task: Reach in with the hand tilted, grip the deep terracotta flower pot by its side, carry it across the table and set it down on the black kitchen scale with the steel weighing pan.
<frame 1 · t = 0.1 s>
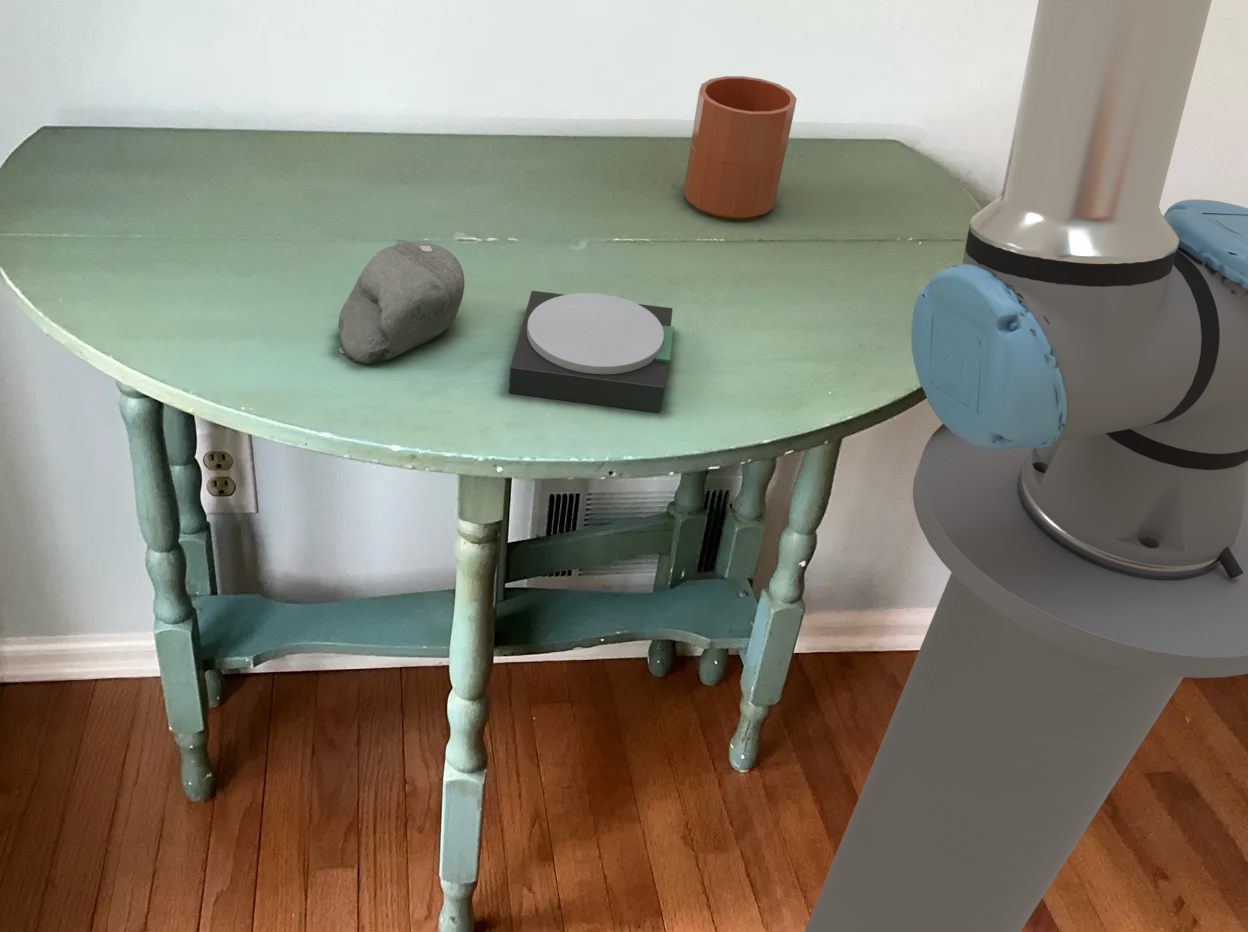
terracotta flower pot: (728, 201, 121), on the table
scale: (592, 361, 97), on the table
stone: (399, 333, 99), on the table
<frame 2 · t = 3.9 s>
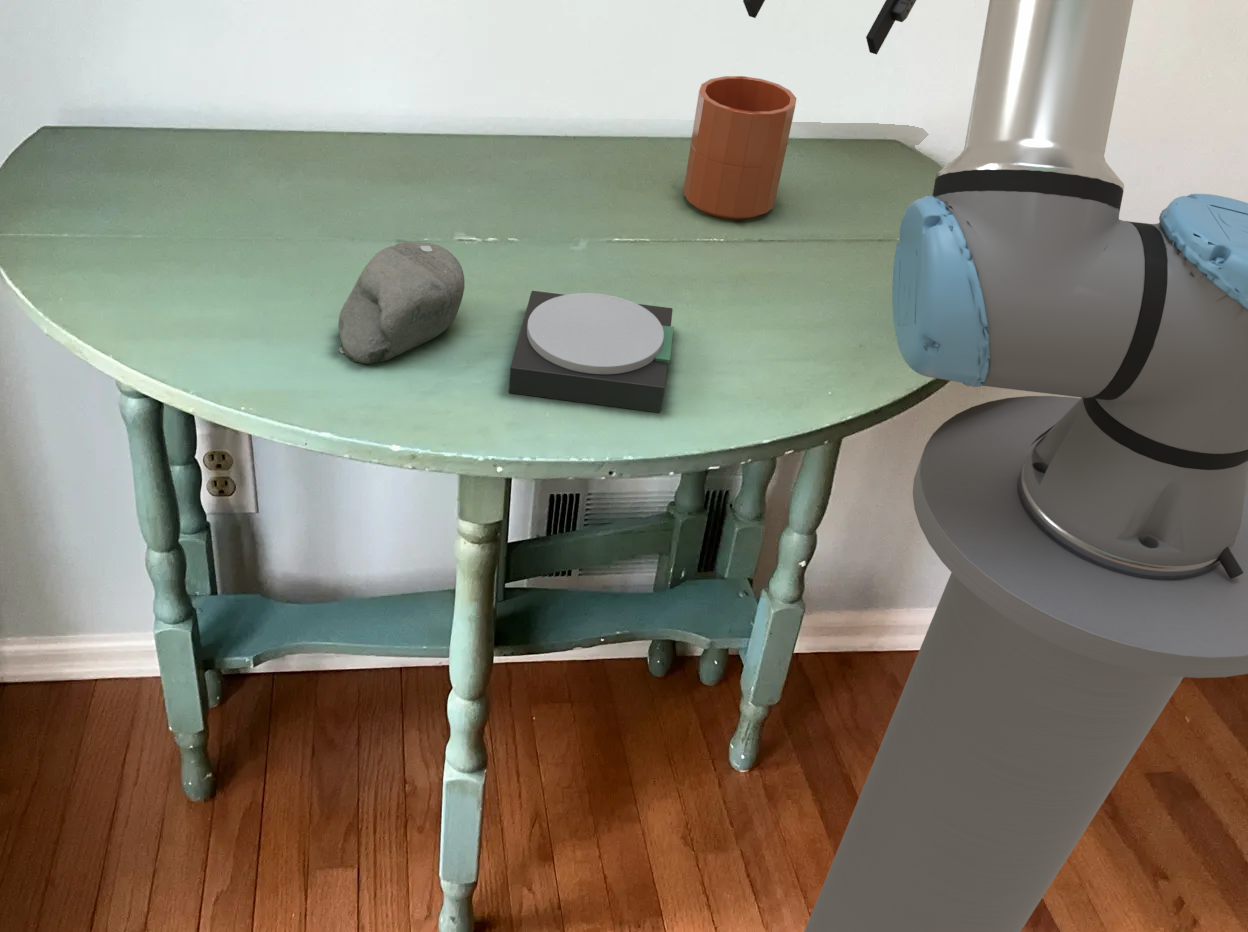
hand: (808, 27, 117), 15 cm above the table, tool tilted 45°, fingers open, 13 cm apart
nothing on the table moved.
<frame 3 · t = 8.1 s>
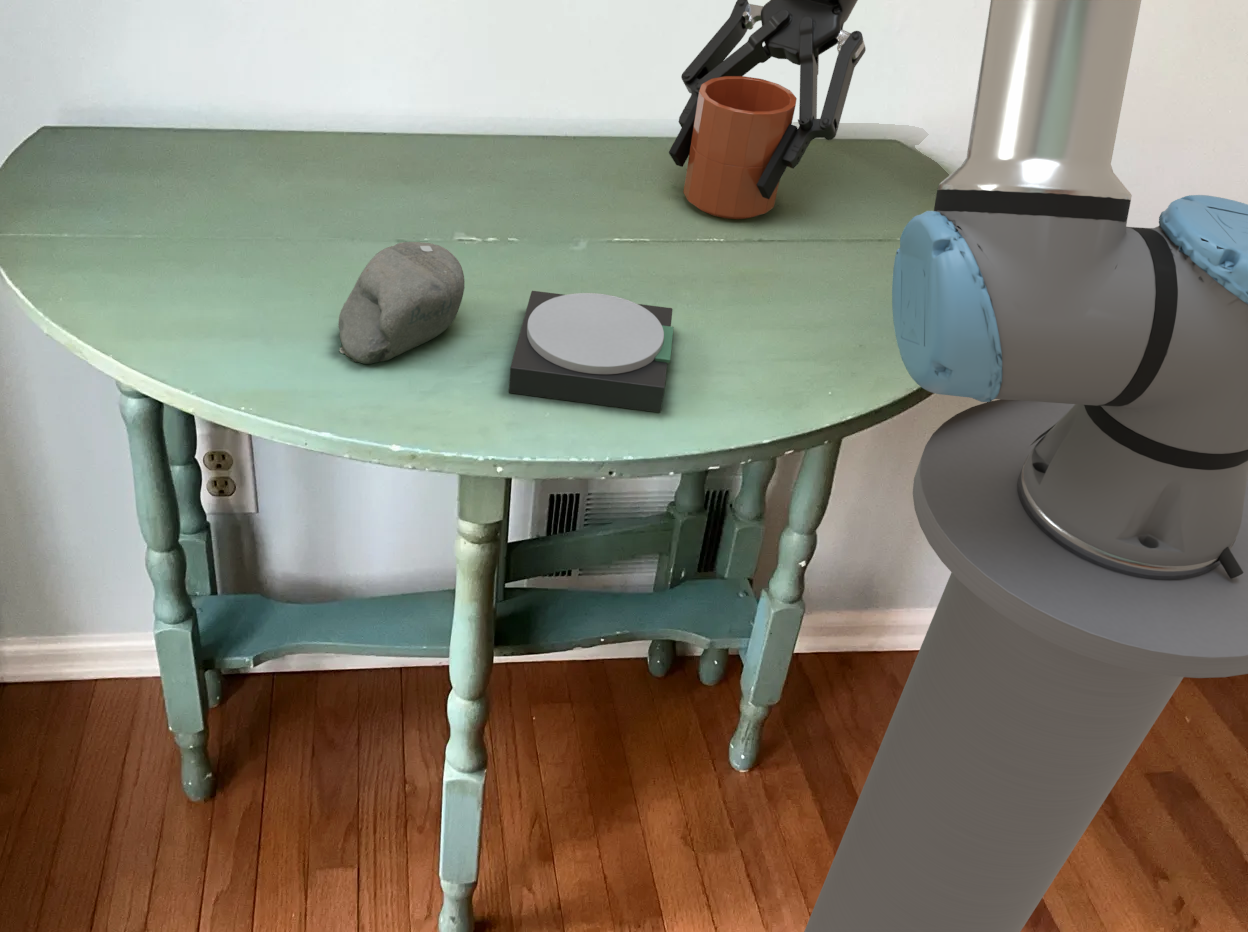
hand: (718, 175, 116), 4 cm above the table, tool tilted 45°, fingers closed on terracotta flower pot, 9 cm apart
terracotta flower pot: (728, 201, 121), on the table, touching gripper
everything else where it was.
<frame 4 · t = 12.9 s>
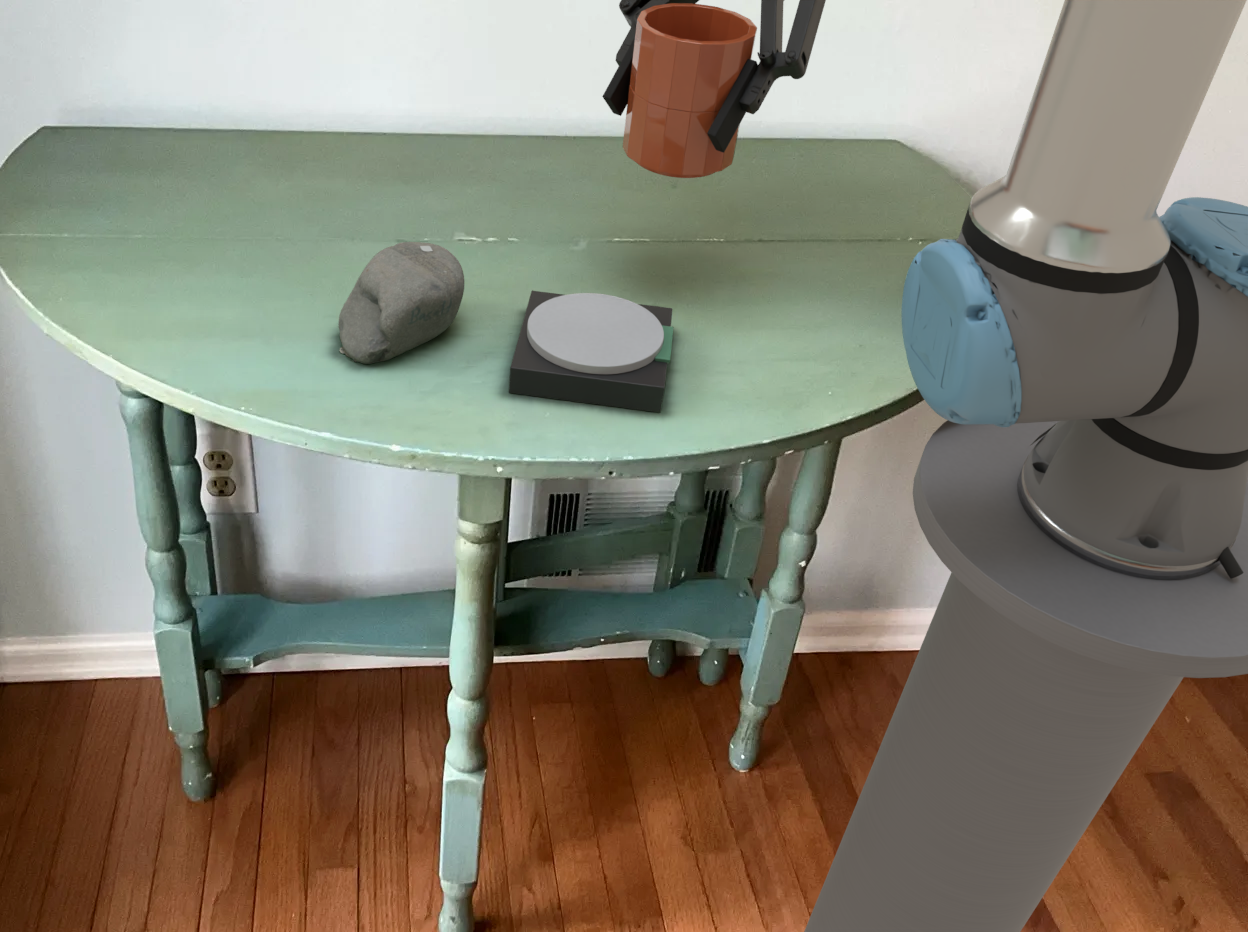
hand: (662, 124, 95), 16 cm above the table, tool tilted 45°, fingers closed on terracotta flower pot, 9 cm apart
terracotta flower pot: (677, 158, 100), point 12 cm above the table, touching gripper
everything else where it was.
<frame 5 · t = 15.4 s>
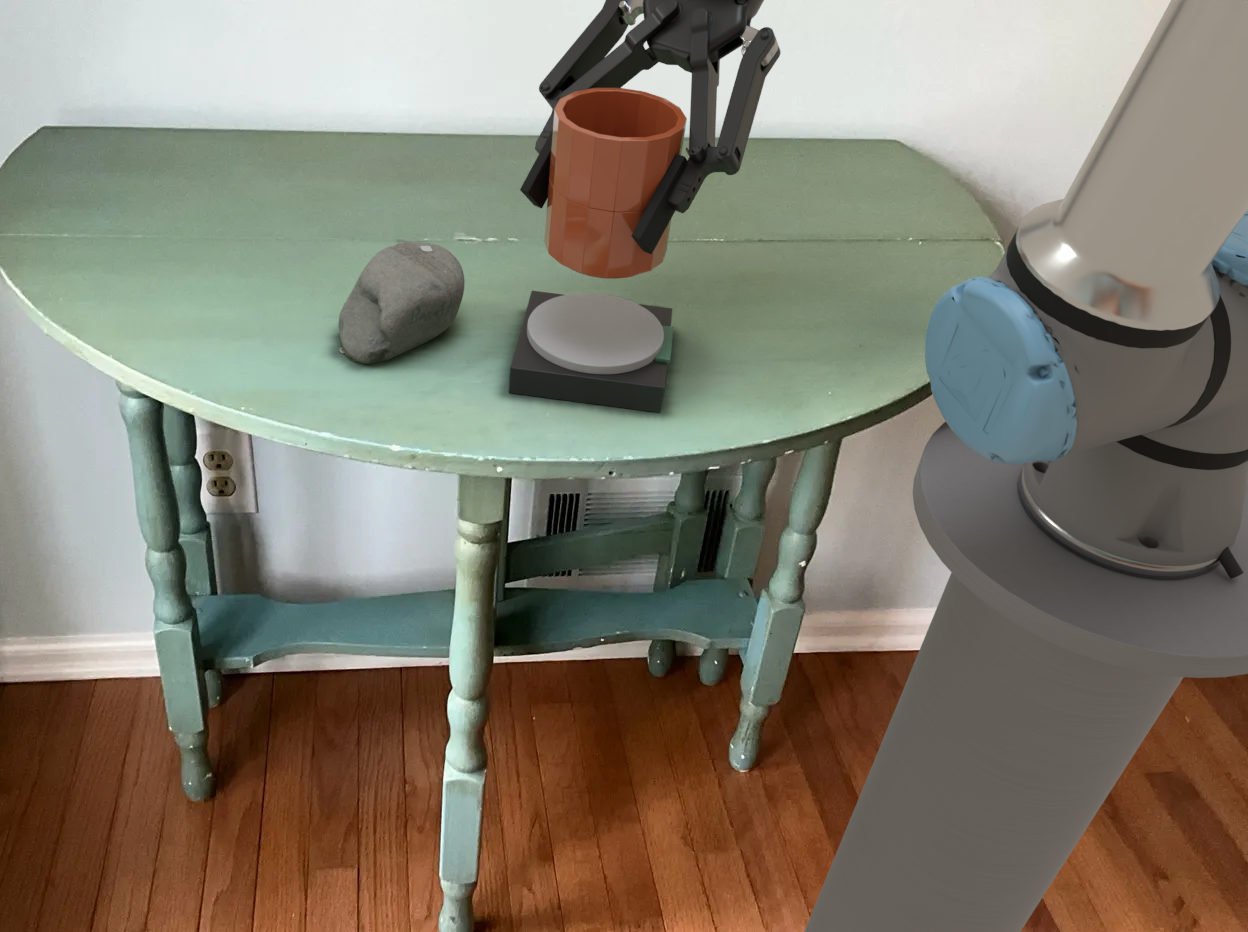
hand: (584, 221, 87), 13 cm above the table, tool tilted 45°, fingers closed on terracotta flower pot, 9 cm apart
terracotta flower pot: (604, 253, 91), point 10 cm above the table, touching gripper
everything else where it was.
when the fingers open (7 cm above the table, at t = 17.7 s): terracotta flower pot stays where it is, resting on scale.
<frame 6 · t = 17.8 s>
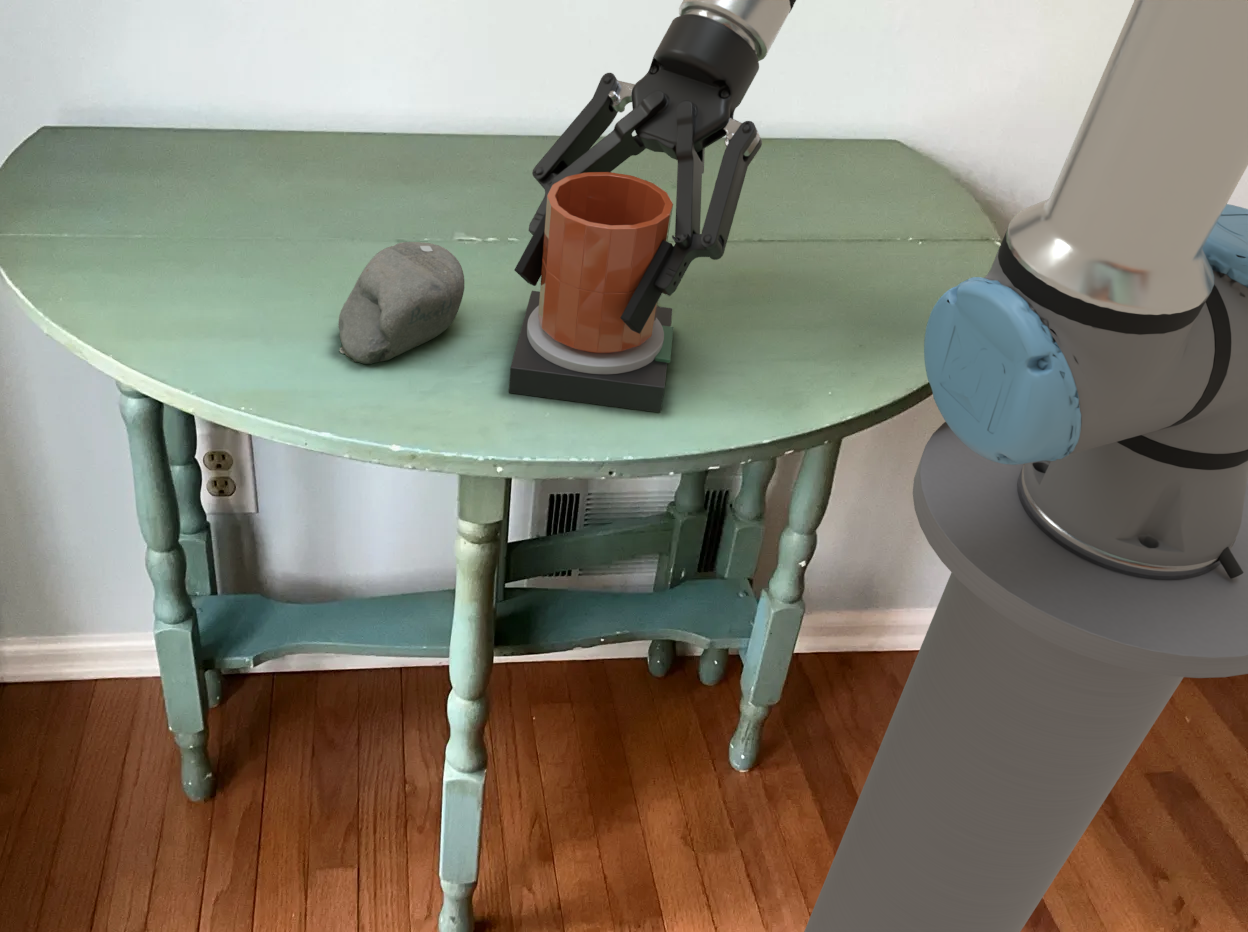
hand: (576, 301, 91), 7 cm above the table, tool tilted 45°, fingers open, 9 cm apart
terracotta flower pot: (595, 327, 95), point 3 cm above the table, touching scale
everything else where it was.
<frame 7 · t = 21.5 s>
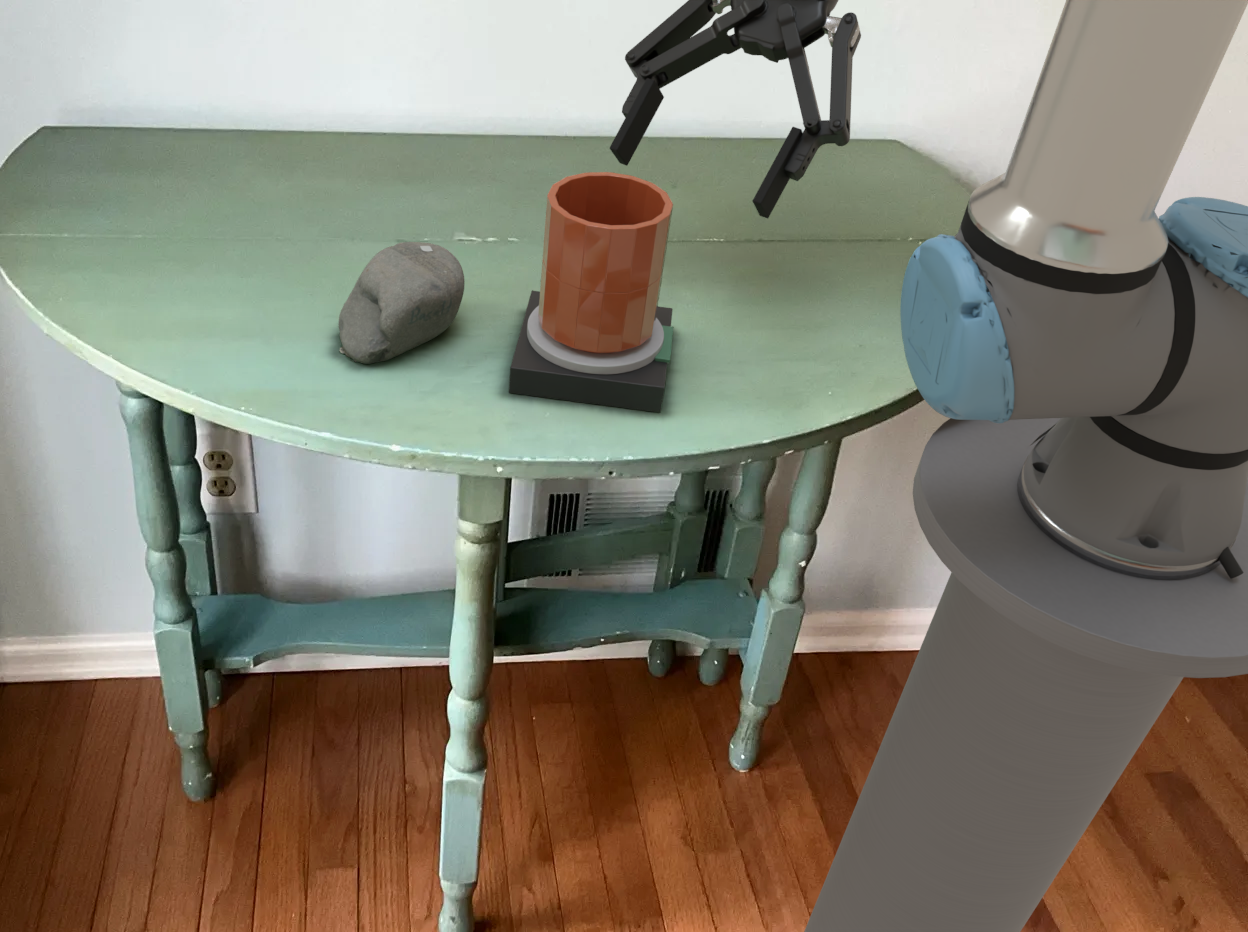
hand: (686, 183, 96), 12 cm above the table, tool tilted 45°, fingers open, 13 cm apart
nothing on the table moved.
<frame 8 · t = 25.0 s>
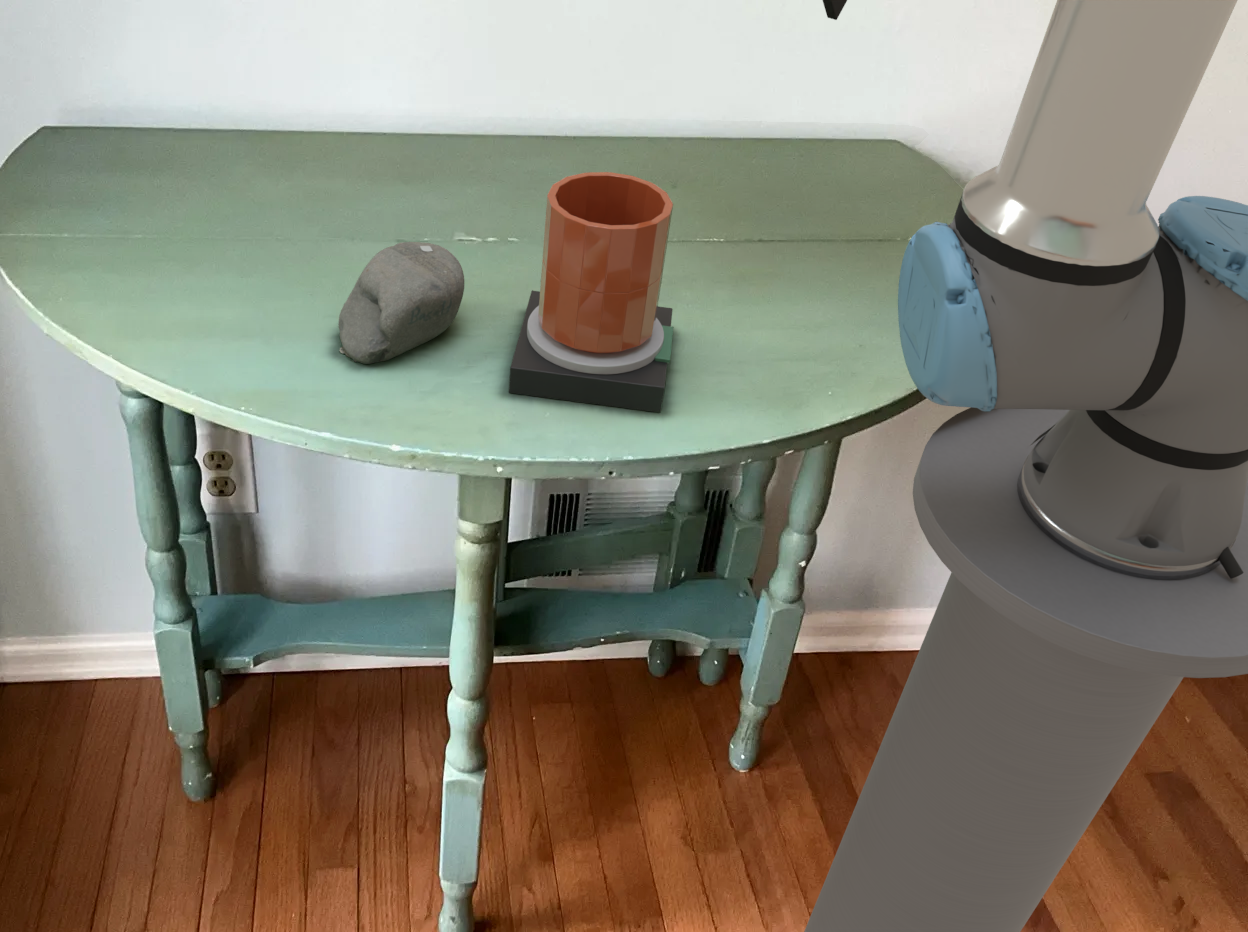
nothing on the table moved.
at the end: terracotta flower pot 0.1 cm off-centre on the scale, point 3.2 cm above the scale's base; terracotta flower pot tilted 0°; the gripper is holding nothing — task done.
